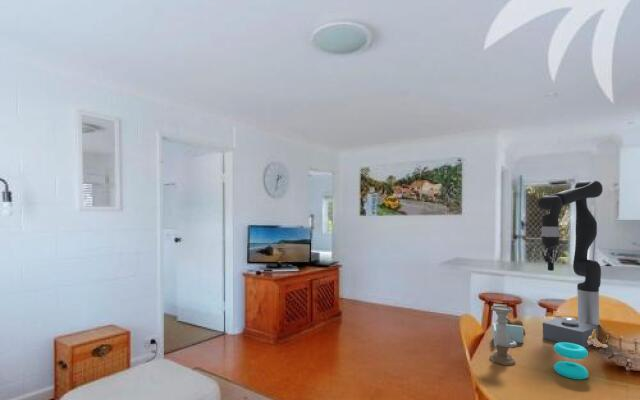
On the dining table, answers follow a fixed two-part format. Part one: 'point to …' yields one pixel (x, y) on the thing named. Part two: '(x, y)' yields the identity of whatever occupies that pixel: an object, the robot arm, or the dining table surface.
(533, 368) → the dining table surface
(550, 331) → the socket block
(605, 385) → the dining table surface
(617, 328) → the dining table surface
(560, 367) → the donuts
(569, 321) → the steel pin
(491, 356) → the candle holder
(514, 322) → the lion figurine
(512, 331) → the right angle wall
